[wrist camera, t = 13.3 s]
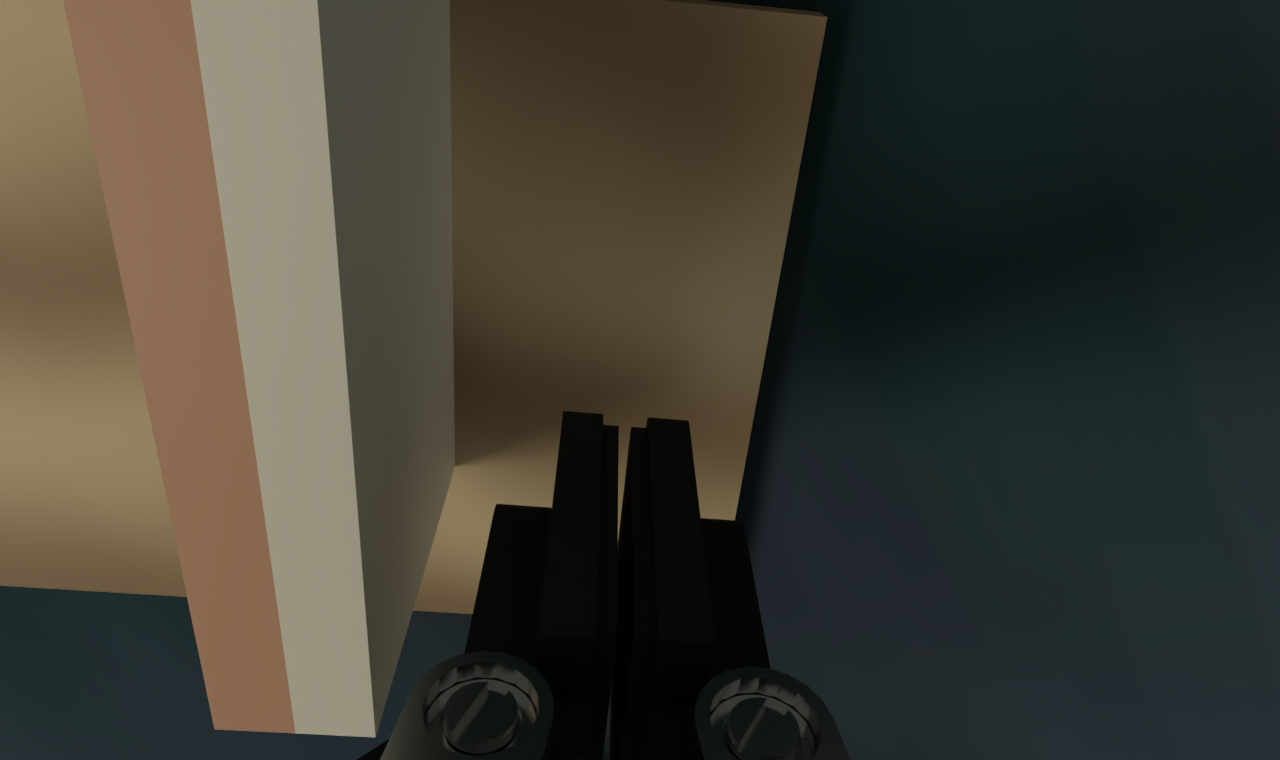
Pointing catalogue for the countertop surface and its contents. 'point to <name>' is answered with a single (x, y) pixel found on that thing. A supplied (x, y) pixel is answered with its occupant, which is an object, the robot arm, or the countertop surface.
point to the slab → (286, 323)
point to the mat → (482, 271)
